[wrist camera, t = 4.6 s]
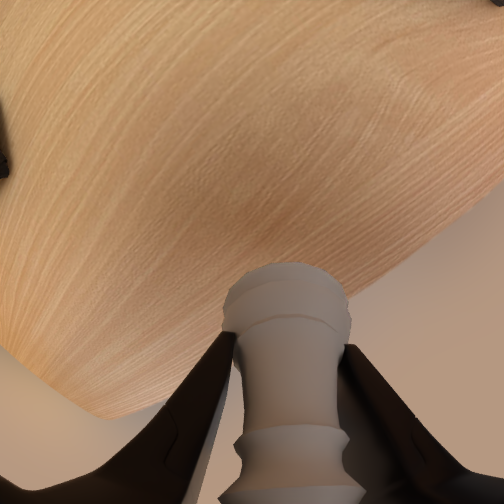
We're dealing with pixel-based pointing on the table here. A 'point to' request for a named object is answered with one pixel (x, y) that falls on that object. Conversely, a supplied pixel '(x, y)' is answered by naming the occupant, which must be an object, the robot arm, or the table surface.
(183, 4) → the table surface
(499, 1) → the bin
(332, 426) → the rook chess piece
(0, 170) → the game controller
